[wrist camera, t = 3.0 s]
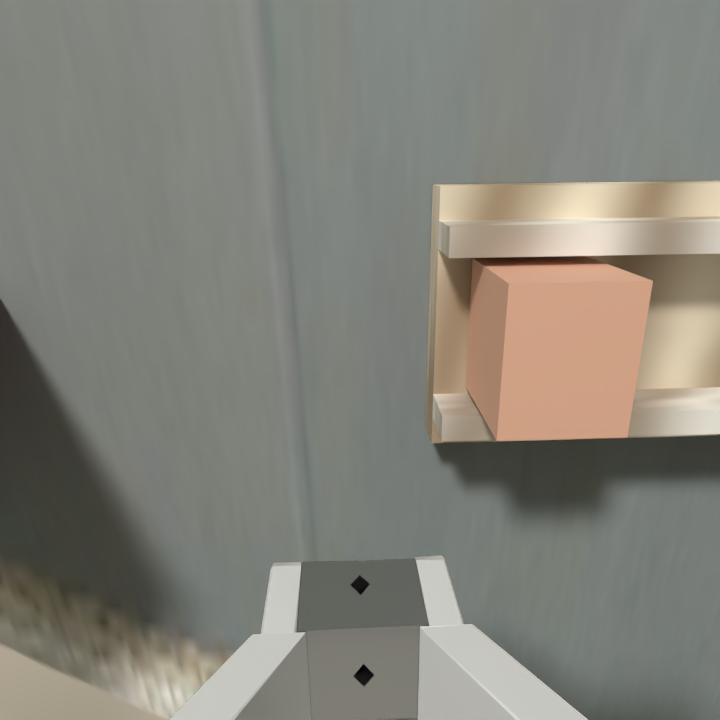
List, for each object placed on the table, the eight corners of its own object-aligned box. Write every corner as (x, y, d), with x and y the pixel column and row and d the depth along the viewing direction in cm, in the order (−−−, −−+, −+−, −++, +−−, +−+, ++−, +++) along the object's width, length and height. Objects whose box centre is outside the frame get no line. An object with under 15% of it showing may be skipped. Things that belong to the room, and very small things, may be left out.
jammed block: (586, 256, 24) (653, 280, 19) (570, 383, 26) (627, 437, 21) (472, 258, 24) (508, 283, 19) (465, 386, 26) (496, 440, 21)
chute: (822, 179, 26) (917, 181, 21) (762, 416, 30) (833, 458, 25) (432, 184, 25) (451, 188, 21) (425, 425, 29) (440, 469, 25)
